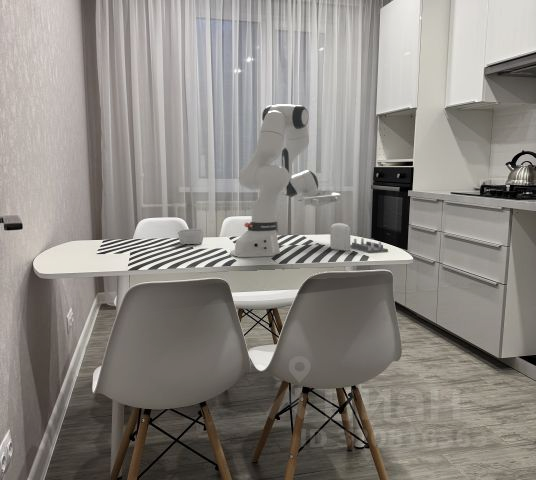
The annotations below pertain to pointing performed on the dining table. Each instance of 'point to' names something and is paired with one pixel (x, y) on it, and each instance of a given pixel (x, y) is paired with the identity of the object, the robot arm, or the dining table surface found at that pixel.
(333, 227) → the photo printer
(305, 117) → the robot arm
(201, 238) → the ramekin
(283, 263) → the dining table surface
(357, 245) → the dock
